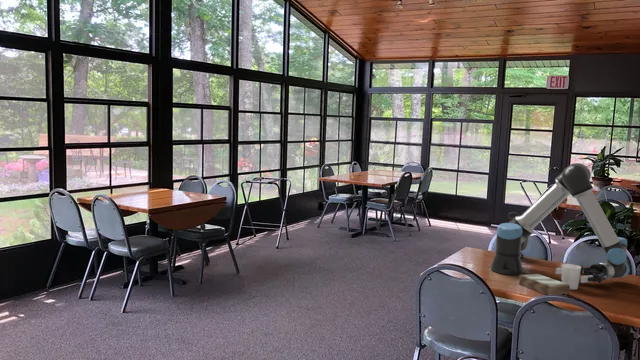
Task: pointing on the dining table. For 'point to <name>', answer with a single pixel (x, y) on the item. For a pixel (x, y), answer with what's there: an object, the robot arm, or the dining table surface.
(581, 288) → the dining table surface
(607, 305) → the dining table surface
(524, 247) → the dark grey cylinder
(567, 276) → the white cup
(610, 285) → the dining table surface
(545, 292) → the board
